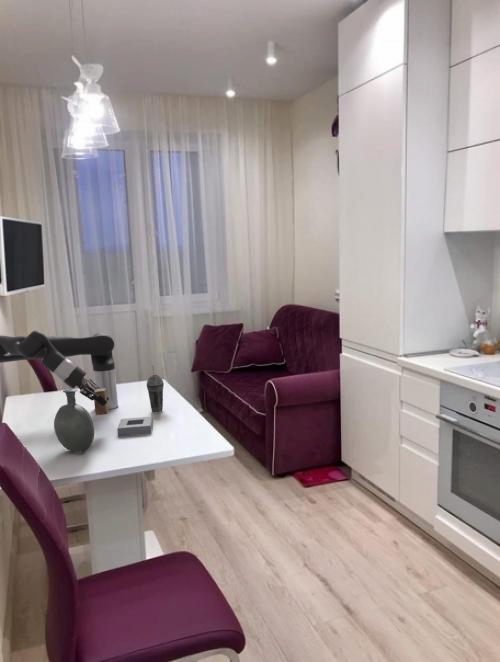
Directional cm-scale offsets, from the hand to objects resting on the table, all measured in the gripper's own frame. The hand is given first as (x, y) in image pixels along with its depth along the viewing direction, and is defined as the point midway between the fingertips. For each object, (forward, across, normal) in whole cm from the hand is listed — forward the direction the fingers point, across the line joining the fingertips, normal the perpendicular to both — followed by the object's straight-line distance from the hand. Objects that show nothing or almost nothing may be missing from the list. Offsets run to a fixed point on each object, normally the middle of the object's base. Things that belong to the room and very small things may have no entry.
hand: (106, 402), depth 196 cm
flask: (+3, +19, -14) cm, 24 cm away
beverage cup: (+20, -24, +3) cm, 32 cm away
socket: (+15, -1, -1) cm, 15 cm away
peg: (+2, 0, -4) cm, 5 cm away
